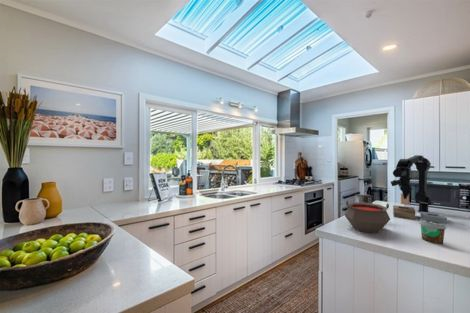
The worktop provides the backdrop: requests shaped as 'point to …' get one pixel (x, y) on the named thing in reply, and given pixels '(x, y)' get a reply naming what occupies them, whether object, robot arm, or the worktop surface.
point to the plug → (404, 200)
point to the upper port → (404, 212)
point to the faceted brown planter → (367, 216)
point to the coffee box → (363, 198)
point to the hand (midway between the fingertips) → (404, 198)
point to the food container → (432, 231)
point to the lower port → (433, 217)
